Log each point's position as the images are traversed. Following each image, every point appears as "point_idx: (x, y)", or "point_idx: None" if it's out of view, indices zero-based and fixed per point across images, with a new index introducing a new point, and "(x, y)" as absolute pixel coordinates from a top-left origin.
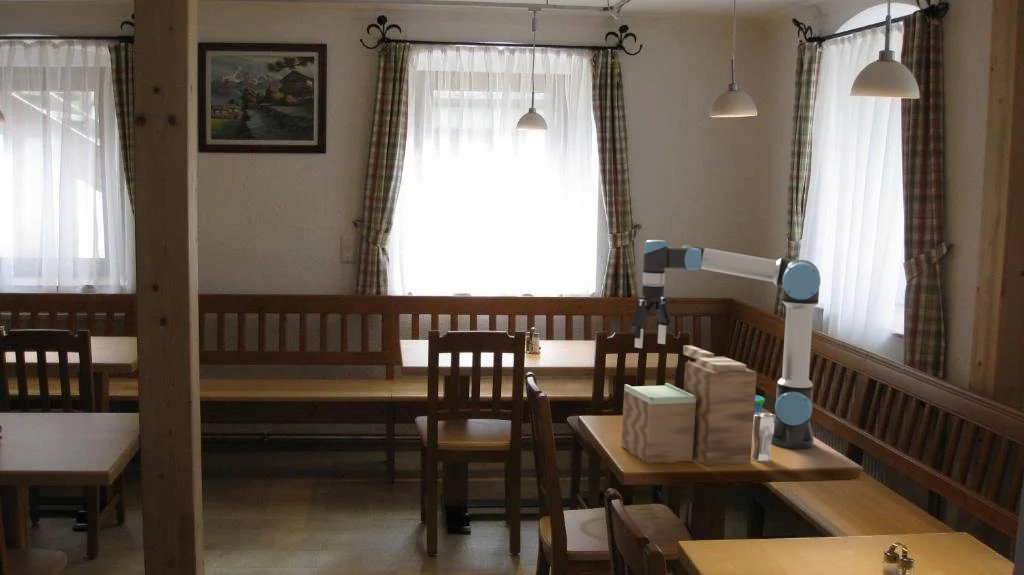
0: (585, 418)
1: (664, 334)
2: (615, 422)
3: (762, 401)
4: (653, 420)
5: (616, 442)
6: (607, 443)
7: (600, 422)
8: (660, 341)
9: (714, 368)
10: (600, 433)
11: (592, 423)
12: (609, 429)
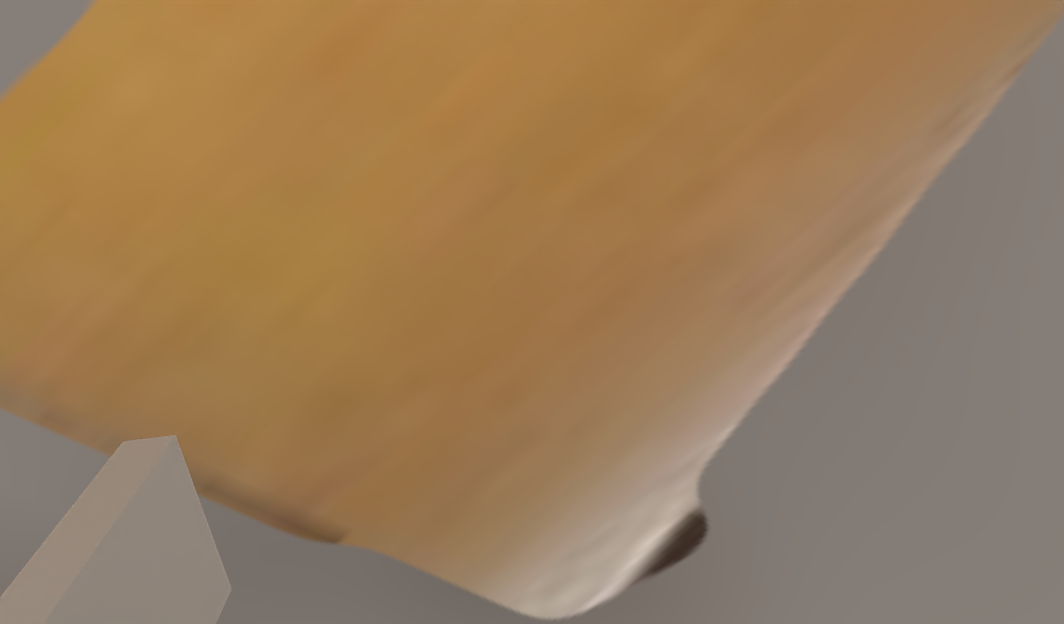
0: (590, 582)
1: (44, 622)
2: (488, 436)
3: None
4: None
5: (904, 56)
6: (982, 71)
7: (578, 480)
8: (188, 562)
9: None
10: (798, 291)
11: (643, 486)
12: (662, 334)
